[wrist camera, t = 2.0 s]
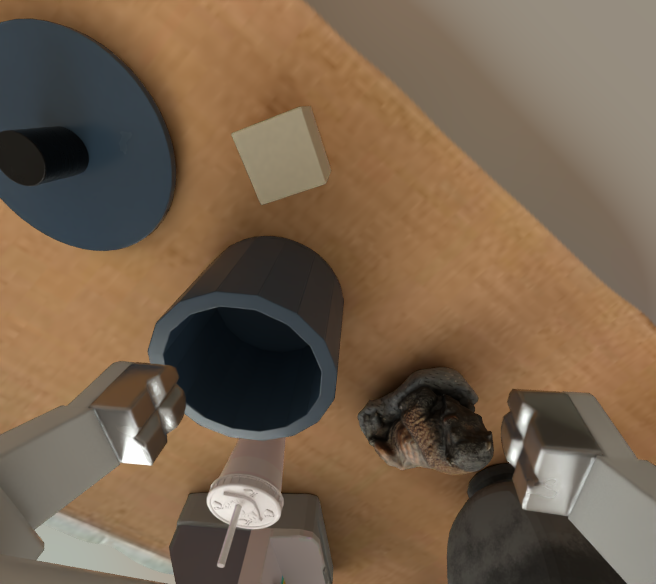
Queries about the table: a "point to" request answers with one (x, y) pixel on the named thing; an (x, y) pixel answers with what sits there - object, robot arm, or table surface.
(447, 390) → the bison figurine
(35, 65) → the lid
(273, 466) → the smoothie
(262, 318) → the canister
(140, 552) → the table surface
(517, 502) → the pitcher
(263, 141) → the block
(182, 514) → the instant camera
